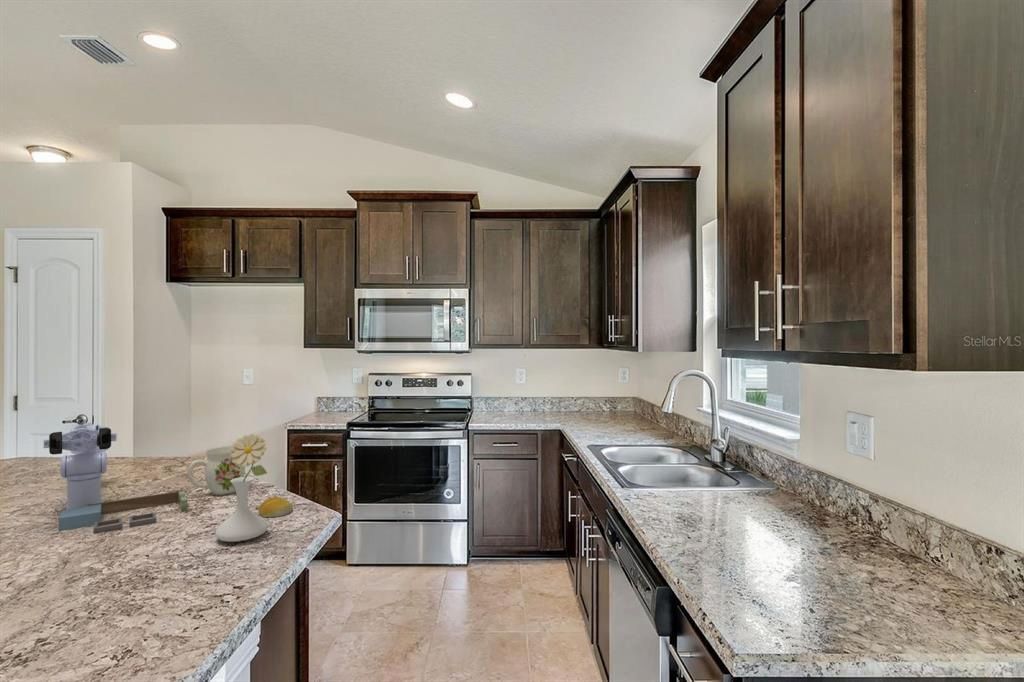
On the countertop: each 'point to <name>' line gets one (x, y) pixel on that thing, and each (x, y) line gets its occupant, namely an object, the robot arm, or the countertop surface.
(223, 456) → the pitcher
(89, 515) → the slate block
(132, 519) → the grey double frame
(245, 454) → the flower in vase
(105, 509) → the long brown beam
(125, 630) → the countertop surface
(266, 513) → the bread roll
